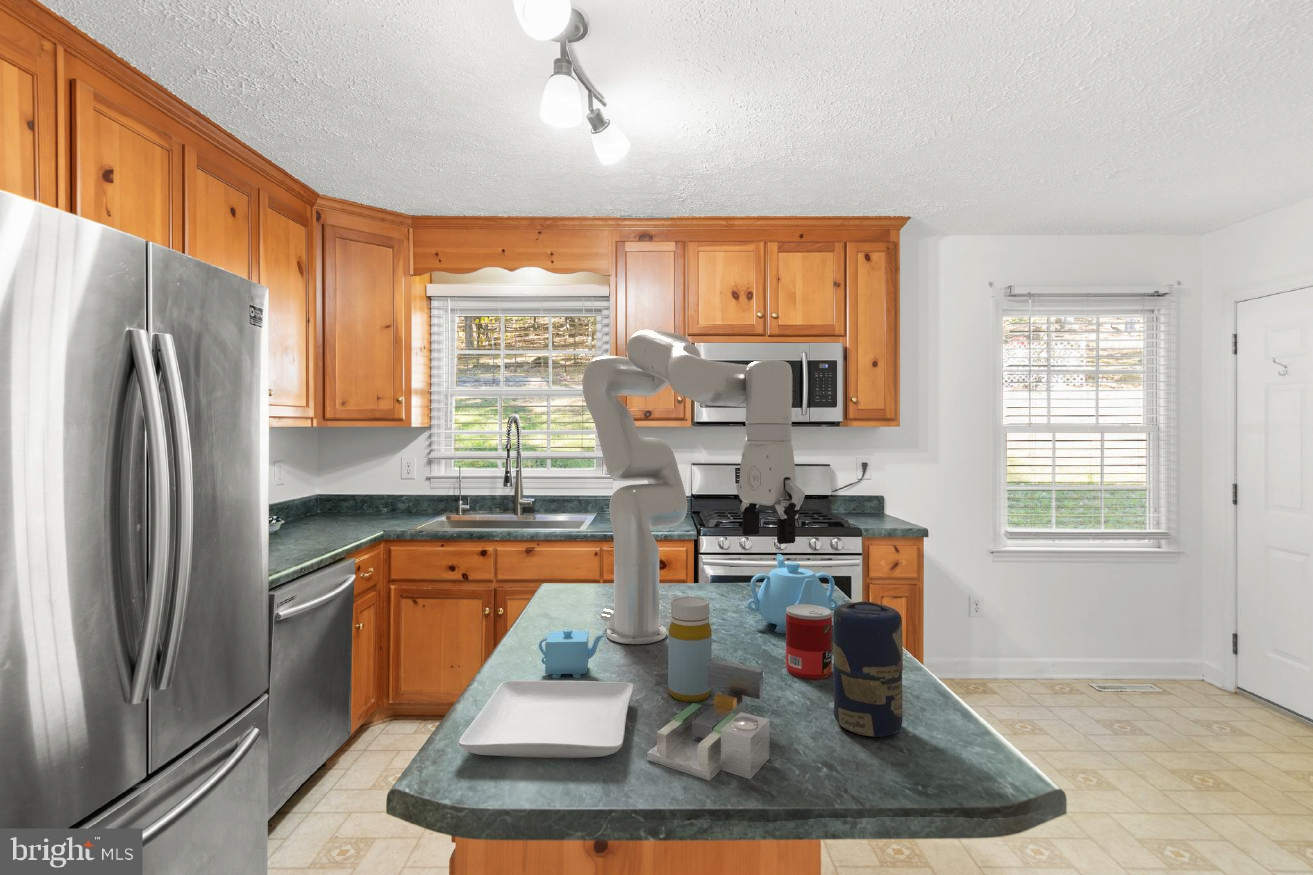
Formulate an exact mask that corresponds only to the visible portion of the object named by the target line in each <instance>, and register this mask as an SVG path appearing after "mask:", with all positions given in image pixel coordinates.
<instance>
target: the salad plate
mask: <svg viewBox="0 0 1313 875" xmlns="http://www.w3.org/2000/svg"><path fill="white" fill-rule="evenodd" d="M634 688H635V686H634V684H633V683H631V682H622V681H621V682H620V681H619V682H618V681H597V680H596V681H592V680H591V681H590V680H589V681H588V680H505V681H502V682H501V683H500V684H499V685H497V688H496V689H495V690H494V691H493V693H492V694H491V696H490V697H489V699H488V700H487V702H486V703H485V705H483V707H482V709H481V710H480V711H479V713H478V714H477V715H476V716H475V718H474V719H473V721H472V722H471V723H470V724H469V726H468V727H467V728H466V730H465V731H464V732H463V733H462V734H461V736H460V737H459V739H458V745H459V747H460V748H461V749H463V750H464V751H466V752H468V753H471V754H476V755H479V756H480V755H481V756H496V757H505V758H506V757H510V758H513V757H514V758H545V759H547V758H549V759H550V758H552V759H553V758H554V759H556V758H557V759H559V758H560V759H561V758H562V759H567V758H568V759H584V758H587V759H588V758H596V757H597V758H599V757H607V756H609V755H612V754H615V753H616V752H618V751H619V750H620V749H621V748H622V746H623V744H624V739H625V731H626V723H627V722H626V721H627V717H628V716H627V715H628V709H629V706H630V705H629V704H630V702H631V699H632V696H633V693H634Z"/></svg>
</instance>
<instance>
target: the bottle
mask: <svg viewBox="0 0 1313 875" xmlns="http://www.w3.org/2000/svg"><path fill="white" fill-rule="evenodd" d="M670 615H671V616H670V619H671V622H670V625H669V627H668V634H667V638H668V640H667V641H668V642H667V644H668V646H667V647H668V648H667V649H668V651H667V652H668V653H667V655H668V656H667V657H668V658H667V666H668V667H667V674H668V675H667V679H668V680H667V687H668V688H667V690H668V694H670V696H672V697H673V698H674V699H675V700H677V701H679V702H680V701H681V702H684V703H685V702H686V703H695V702H700V701H703V700H706V699H707V698H708V697H709V696H710V694H711V693H712V688H710V687H707V661H708V660H710V659H713V656H712V654H713V653H712V652H713V645H712V643H713V642H712V640H713V638H712V637H713V636H712V635H713V634H712V628H711V624H710V602H709V600H708V599H706V598H704V597H699V596H679V597H675V598H673V599H672V600H671V602H670Z"/></svg>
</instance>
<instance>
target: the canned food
mask: <svg viewBox="0 0 1313 875" xmlns="http://www.w3.org/2000/svg"><path fill="white" fill-rule="evenodd" d="M832 612H833V611H831V610H829V609H827V608H825V607H822V606H817V605H808V604H798V605H791V606H789V607H787V608H786V633H785V666H786V671H787V672H788V673H790V674H791V675H793V676H794V677H797V678H802V679H807V680H820V679H821V680H822V679H826V678H827V677H829V676H831V673H832V670H833V613H832Z"/></svg>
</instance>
